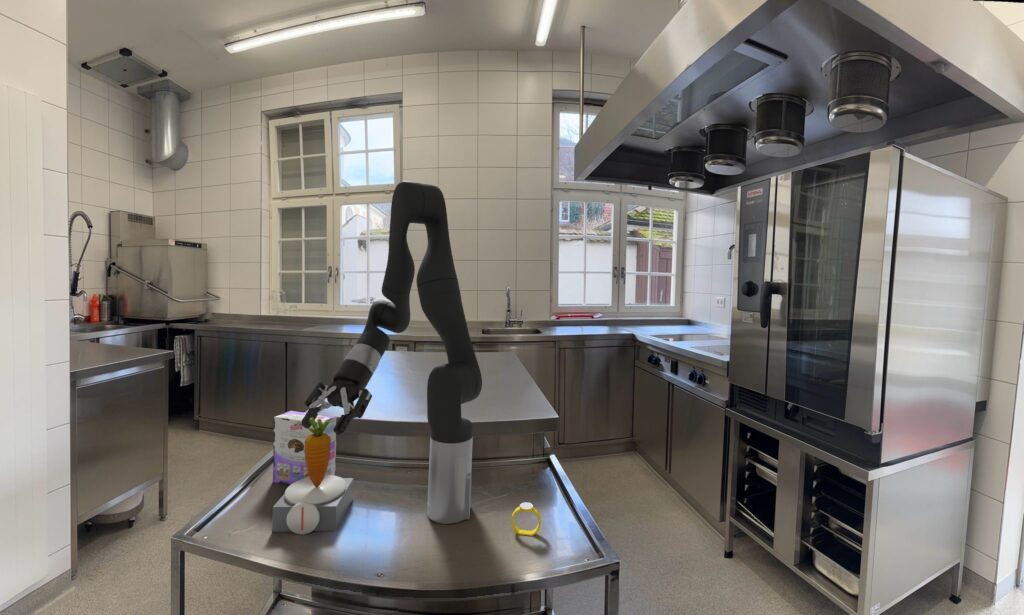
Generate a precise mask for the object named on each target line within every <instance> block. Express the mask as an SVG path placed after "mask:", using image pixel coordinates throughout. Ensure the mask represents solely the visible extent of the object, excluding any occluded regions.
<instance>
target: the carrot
mask: <svg viewBox="0 0 1024 615" xmlns="http://www.w3.org/2000/svg"><path fill="white" fill-rule="evenodd" d="M317 421H318V425H319V427H318V426H317V423H316V421H315V420H314V418H310V420H309V422H310V423H311V425H312V426H313V428H314V429H312V428H308V430H310V431H311V432H312V433H314V434H311V435H310V436H308V437H307V438H306V439H305V461H306V467H307V471H308V475H309V477H310V479H311V481H312V483H313V485H314V486H315V487H318V486H319V485H320V484H321V482H322V481H323V479H324V476H325V474H326V472H327V468H328V463H329V458H330V445H331V439H330V437H329V436H328V435H327V434H326V433H323V432H324V430H325V428H326V427H327V425H328V424H329V421H325V423H324V424H322V420H321V419H318V420H317Z"/></svg>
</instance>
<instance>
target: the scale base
mask: <svg viewBox="0 0 1024 615" xmlns="http://www.w3.org/2000/svg"><path fill="white" fill-rule="evenodd" d="M342 478H343V479H344V480H345V482H346V489H345V491H344V492H343V494H342V495H340V496H339V497H337V498H336V499H334V500H331V501H329V502H326V503H323V504H318V505H313V504H311V503H307V502H302V503H298V504H296V505H293V504H290V503H289V502H287V501H286V499H285V493H284V494H283V495H282V496H281V497H280V498H279V499H278V500H277V502H276V503H275V504H274V505H273V506H272V518H271V520H272V522H271V526H272V527H271V532H272V533H275V532H276V533H278V532H281V533H284V532H286V533H288V532H293V533H294V534H297V535H306V534H309V533H311V532H336V531H337V530H338V528H339V526H340V524H341V522H342V520H343V518H344V516H345V515H346V512H347V511H348V509H349V507H350V505H351V504H352V502H353V500H354V478H353V477H342ZM301 479H304V478H298V479H297V480H296V481H299V480H301ZM296 481H295V482H296Z"/></svg>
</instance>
